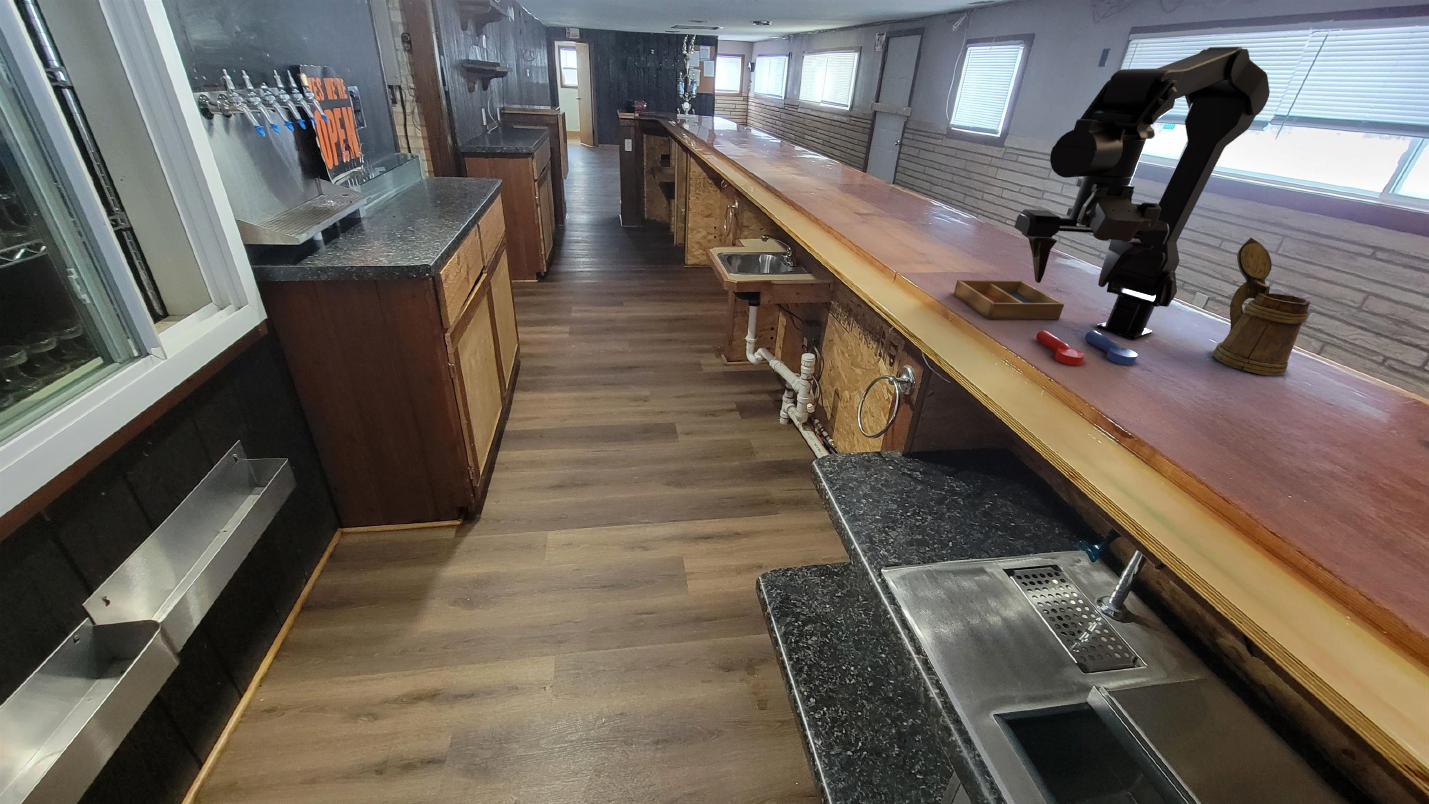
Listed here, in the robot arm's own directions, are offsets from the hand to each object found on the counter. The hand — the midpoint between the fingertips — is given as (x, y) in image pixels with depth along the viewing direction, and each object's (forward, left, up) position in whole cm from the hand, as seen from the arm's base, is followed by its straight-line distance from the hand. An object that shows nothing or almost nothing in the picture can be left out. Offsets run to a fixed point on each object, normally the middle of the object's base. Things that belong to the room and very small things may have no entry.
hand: (1069, 284), depth 85 cm
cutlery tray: (-14, -17, -12) cm, 25 cm away
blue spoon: (-10, +4, -12) cm, 16 cm away
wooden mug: (-28, +16, -12) cm, 34 cm away
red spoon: (-2, 0, -12) cm, 12 cm away
